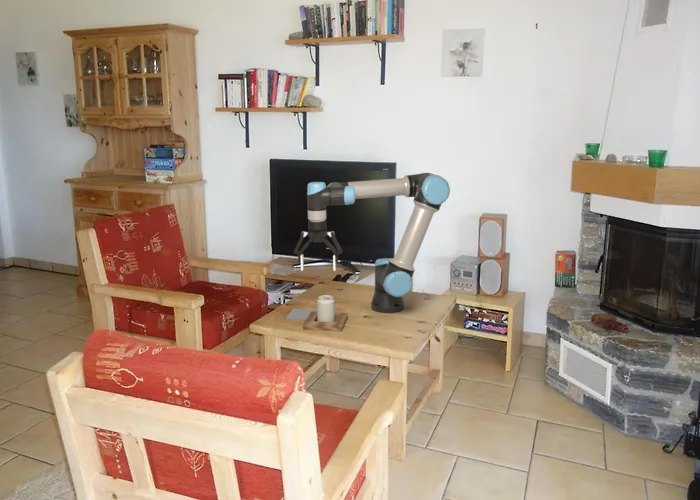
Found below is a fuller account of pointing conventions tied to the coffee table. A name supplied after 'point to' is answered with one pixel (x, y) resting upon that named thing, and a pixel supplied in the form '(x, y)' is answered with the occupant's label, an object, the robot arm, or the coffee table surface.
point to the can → (325, 309)
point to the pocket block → (325, 326)
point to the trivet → (299, 314)
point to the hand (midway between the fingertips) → (318, 270)
